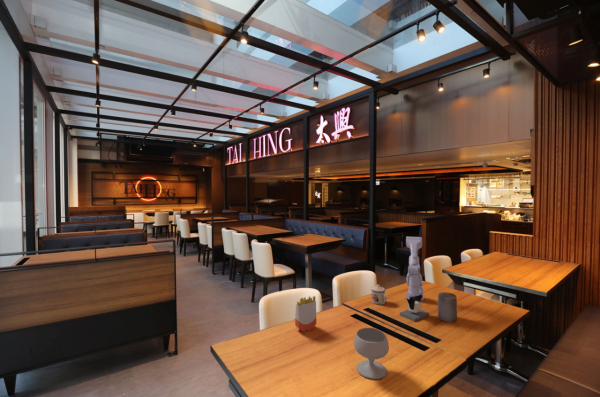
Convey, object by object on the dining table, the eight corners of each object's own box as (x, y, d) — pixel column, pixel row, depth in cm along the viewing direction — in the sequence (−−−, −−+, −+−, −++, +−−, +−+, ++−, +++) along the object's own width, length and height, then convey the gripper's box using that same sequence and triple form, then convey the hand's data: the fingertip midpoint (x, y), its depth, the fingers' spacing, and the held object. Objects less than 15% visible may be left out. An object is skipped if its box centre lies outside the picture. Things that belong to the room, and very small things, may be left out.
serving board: (414, 309, 172) (414, 307, 172) (429, 315, 163) (429, 313, 163) (399, 315, 165) (399, 312, 165) (414, 321, 156) (414, 319, 156)
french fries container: (295, 329, 149) (294, 296, 149) (312, 324, 154) (311, 293, 154) (298, 333, 145) (298, 299, 145) (316, 328, 150) (316, 295, 150)
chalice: (382, 359, 122) (382, 325, 121) (394, 381, 108) (394, 343, 107) (351, 360, 121) (350, 326, 121) (358, 382, 107) (358, 344, 107)
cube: (412, 307, 168) (412, 299, 167) (420, 310, 164) (420, 302, 163) (408, 310, 165) (408, 301, 164) (415, 313, 161) (415, 304, 160)
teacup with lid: (368, 301, 186) (368, 284, 186) (378, 298, 190) (378, 282, 190) (380, 307, 176) (380, 289, 175) (391, 305, 179) (391, 287, 179)
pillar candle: (452, 315, 164) (451, 290, 163) (460, 322, 154) (459, 296, 154) (435, 314, 165) (434, 289, 164) (442, 322, 155) (441, 295, 155)
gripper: (414, 281, 171) (414, 302, 172) (401, 286, 162) (401, 309, 163) (425, 284, 166) (425, 306, 166) (412, 289, 157) (412, 313, 157)
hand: (414, 308), depth 164 cm, fingers closed on cube, 5 cm apart
